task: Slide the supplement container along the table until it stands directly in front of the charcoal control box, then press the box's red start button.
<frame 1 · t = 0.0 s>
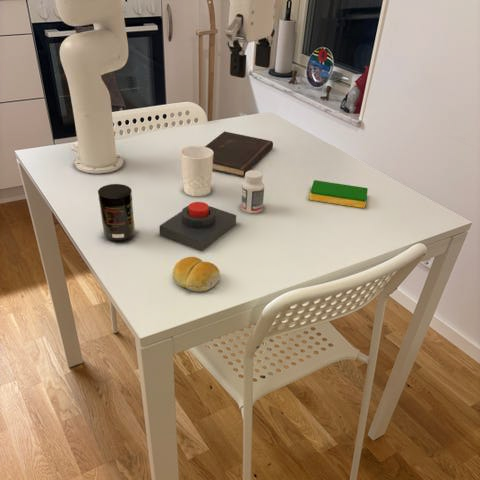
hand: (250, 71, 103), 31 cm above the table, tool pointing down, fingers open, 9 cm apart
control box: (198, 230, 115), on the table
hardcover book: (233, 157, 148), on the table
supplement container: (119, 236, 112), on the table
start button: (198, 210, 112), point 5 cm above the table, slide at 0.1 cm
dish sponge: (337, 198, 131), on the table
bread roll: (196, 280, 101), on the table
pill bottle: (251, 209, 124), on the table
white cup: (197, 191, 130), on the table
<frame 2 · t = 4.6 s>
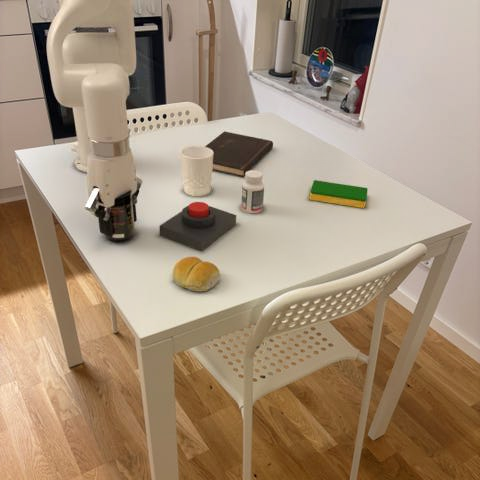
hand: (118, 226, 110), 2 cm above the table, tool pointing down, fingers closed on supplement container, 6 cm apart
supplement container: (119, 236, 112), on the table, touching gripper
everything else where it was.
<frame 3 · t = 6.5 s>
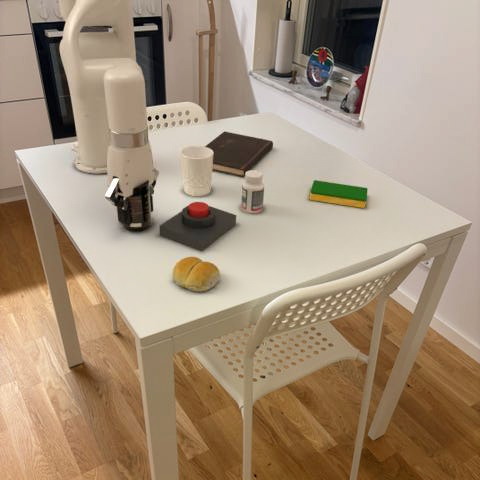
hand: (136, 216, 114), 2 cm above the table, tool pointing down, fingers closed on supplement container, 6 cm apart
supplement container: (137, 225, 116), on the table, touching gripper
everything else where it was.
when the fingers open (2 cm above the table, at t = 8.6 s): supplement container stays where it is, on the table.
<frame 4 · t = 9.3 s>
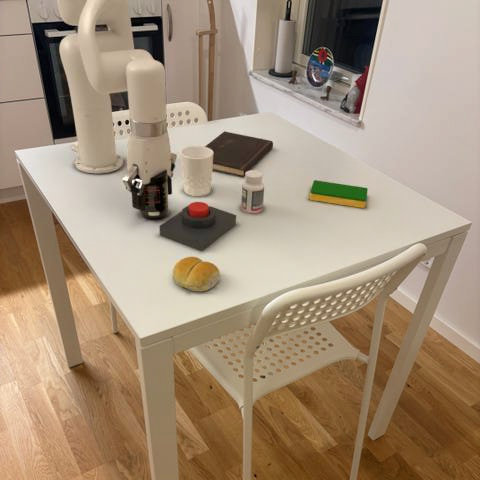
hand: (152, 200, 118), 3 cm above the table, tool pointing down, fingers open, 9 cm apart
supplement container: (154, 214, 120), on the table
everything else where it was.
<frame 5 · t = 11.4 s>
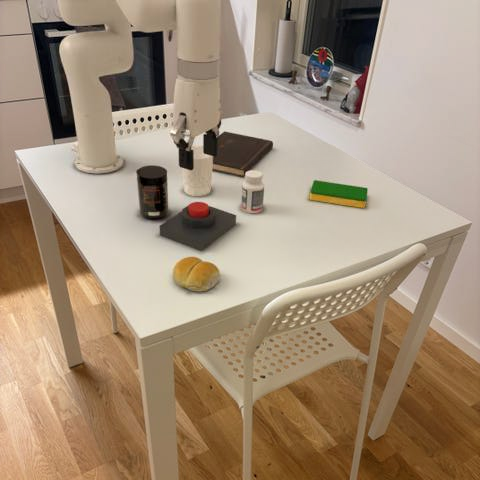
hand: (198, 161, 105), 16 cm above the table, tool pointing down, fingers open, 7 cm apart
nothing on the table moved.
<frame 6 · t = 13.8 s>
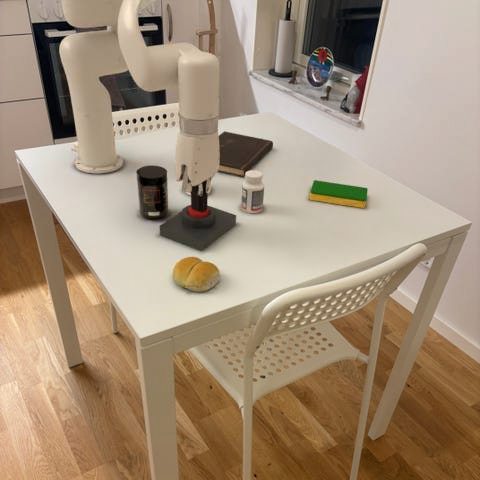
hand: (199, 209, 112), 5 cm above the table, tool pointing down, fingers closed
start button: (198, 212, 112), point 4 cm above the table, slide at -0.5 cm, touching gripper
everything else where it was.
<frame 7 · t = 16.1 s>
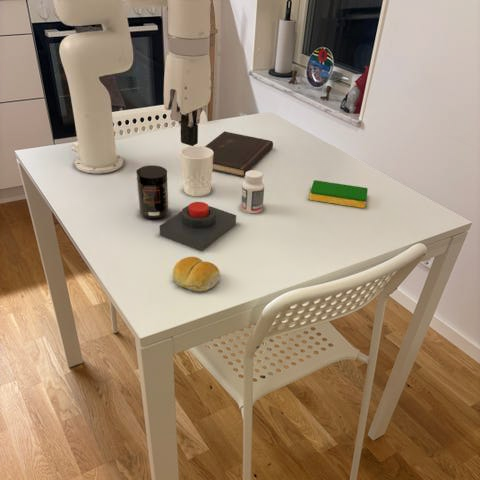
hand: (189, 143, 106), 18 cm above the table, tool pointing down, fingers closed
start button: (198, 210, 112), point 5 cm above the table, slide at 0.1 cm
everything else where it was.
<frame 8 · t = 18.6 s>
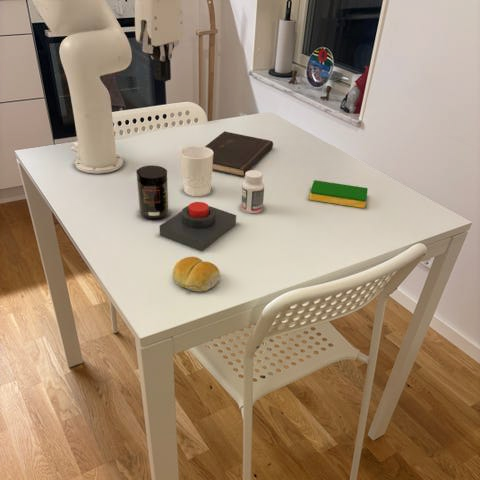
hand: (162, 79, 110), 27 cm above the table, tool pointing down, fingers closed
nothing on the table moved.
at the end: supplement container inside the target area (0.3 cm from its centre), on the table; start button pushed in 1.3 cm at the most during the clip, back to where it started at the end; start button slide at 0.1 cm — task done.
